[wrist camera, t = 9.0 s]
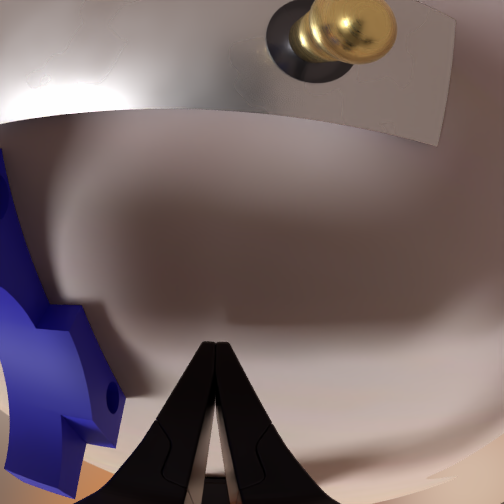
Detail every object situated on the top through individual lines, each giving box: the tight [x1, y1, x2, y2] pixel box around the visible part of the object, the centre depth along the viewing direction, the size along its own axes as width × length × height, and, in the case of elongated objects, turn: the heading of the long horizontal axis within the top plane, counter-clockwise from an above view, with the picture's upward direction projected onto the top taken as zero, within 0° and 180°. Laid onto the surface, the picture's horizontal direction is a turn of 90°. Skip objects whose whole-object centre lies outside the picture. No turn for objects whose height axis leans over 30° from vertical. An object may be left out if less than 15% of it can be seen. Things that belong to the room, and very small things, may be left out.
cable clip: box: [0, 148, 126, 499], centre depth 8 cm, size 12×4×6 cm, turn 1°
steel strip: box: [0, 0, 456, 147], centre depth 4 cm, size 4×16×4 cm, turn 84°
